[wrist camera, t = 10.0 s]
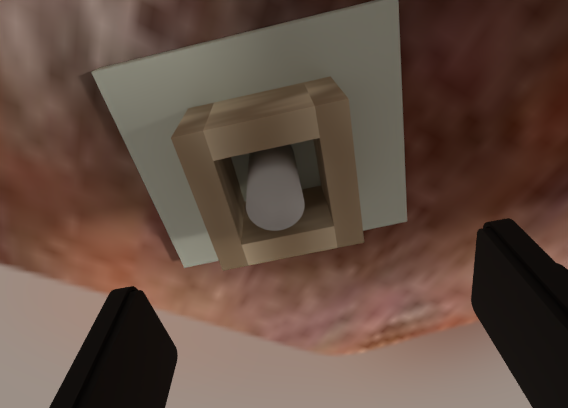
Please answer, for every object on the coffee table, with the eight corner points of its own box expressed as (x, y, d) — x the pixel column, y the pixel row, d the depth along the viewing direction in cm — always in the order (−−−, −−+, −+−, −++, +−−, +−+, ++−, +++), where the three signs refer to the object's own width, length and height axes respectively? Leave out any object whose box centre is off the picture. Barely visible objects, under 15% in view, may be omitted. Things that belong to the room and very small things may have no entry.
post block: (390, -4, 16) (451, 0, 11) (401, 212, 22) (443, 279, 17) (99, 67, 17) (31, 101, 12) (187, 257, 23) (166, 333, 18)
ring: (330, 76, 17) (348, 98, 14) (346, 200, 21) (364, 242, 17) (188, 108, 17) (170, 137, 14) (228, 224, 21) (222, 270, 18)
